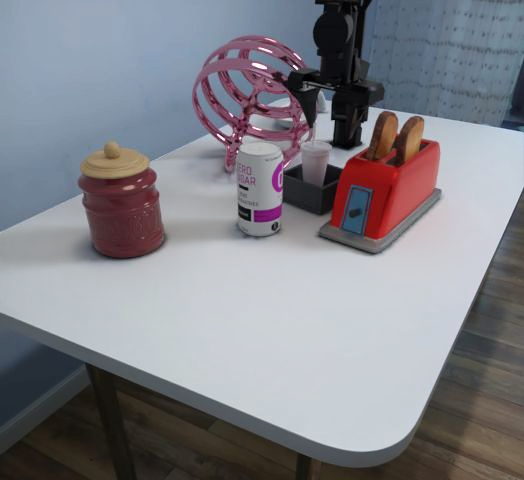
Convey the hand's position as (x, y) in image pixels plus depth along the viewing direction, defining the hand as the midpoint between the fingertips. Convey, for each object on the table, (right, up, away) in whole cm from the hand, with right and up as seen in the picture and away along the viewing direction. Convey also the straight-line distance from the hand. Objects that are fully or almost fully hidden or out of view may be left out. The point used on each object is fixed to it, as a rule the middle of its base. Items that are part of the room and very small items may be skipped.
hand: (329, 133), depth 98 cm
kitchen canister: (-38, -23, -8) cm, 45 cm away
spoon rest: (-2, +24, +47) cm, 53 cm away
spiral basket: (-14, +2, +21) cm, 26 cm away
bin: (-2, -11, +7) cm, 13 cm away
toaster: (+11, -16, +1) cm, 19 cm away
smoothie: (-3, -10, +7) cm, 12 cm away
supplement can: (-14, -20, -3) cm, 24 cm away
